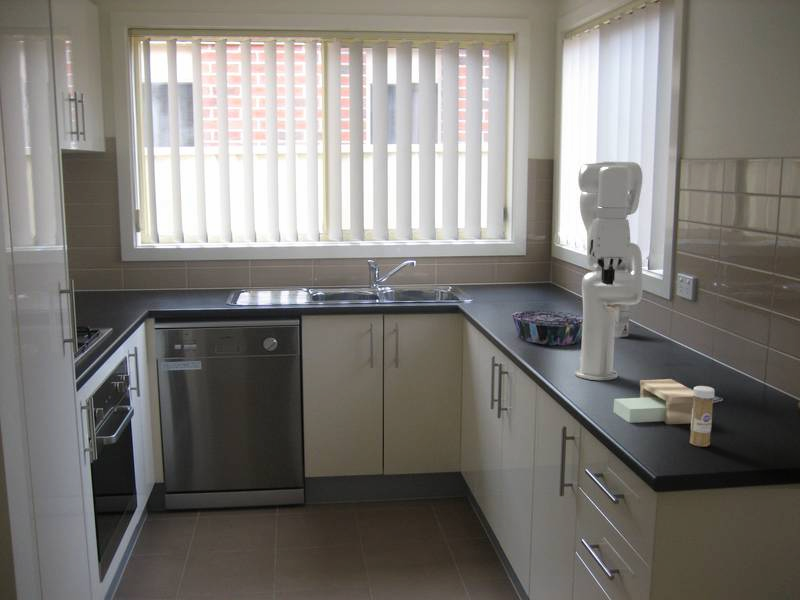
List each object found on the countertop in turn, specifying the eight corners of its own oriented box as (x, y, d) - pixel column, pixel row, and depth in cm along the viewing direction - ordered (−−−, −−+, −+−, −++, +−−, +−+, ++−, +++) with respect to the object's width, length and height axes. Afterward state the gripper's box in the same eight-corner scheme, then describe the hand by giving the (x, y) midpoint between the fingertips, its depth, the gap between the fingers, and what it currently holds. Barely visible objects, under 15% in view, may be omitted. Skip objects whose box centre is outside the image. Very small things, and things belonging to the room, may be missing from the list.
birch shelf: (638, 405, 225) (640, 380, 224) (669, 404, 227) (671, 379, 226) (669, 424, 210) (671, 397, 209) (702, 423, 212) (704, 396, 210)
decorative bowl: (562, 334, 321) (562, 308, 320) (602, 345, 295) (602, 316, 294) (501, 338, 313) (501, 311, 312) (536, 349, 287) (536, 320, 286)
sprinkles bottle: (699, 448, 193) (703, 391, 191) (685, 442, 197) (689, 386, 195) (714, 445, 195) (719, 389, 193) (700, 439, 199) (704, 384, 197)
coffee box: (598, 333, 316) (600, 290, 313) (610, 331, 319) (612, 289, 317) (617, 338, 308) (620, 294, 306) (629, 336, 312) (632, 293, 309)
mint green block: (613, 411, 220) (614, 398, 219) (670, 409, 223) (671, 396, 222) (629, 422, 211) (630, 409, 210) (688, 419, 214) (689, 406, 213)
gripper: (631, 213, 226) (627, 281, 229) (578, 213, 223) (575, 282, 226) (644, 215, 218) (640, 285, 222) (590, 215, 215) (586, 286, 219)
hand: (607, 283), depth 224 cm, fingers closed
